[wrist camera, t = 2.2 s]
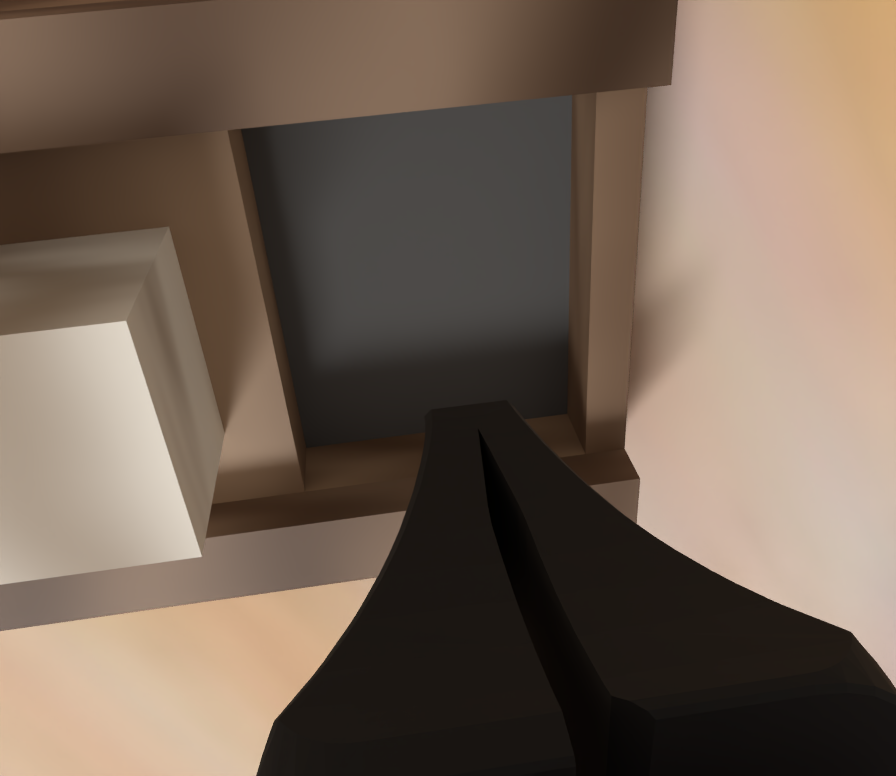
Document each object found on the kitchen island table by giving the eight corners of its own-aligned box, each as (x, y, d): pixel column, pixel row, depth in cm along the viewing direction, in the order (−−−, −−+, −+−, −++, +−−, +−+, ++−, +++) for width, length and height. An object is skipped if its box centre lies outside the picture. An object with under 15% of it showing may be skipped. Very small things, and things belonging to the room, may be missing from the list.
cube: (0, 462, 18) (-75, 595, 15) (-98, 255, 15) (-215, 361, 12) (224, 433, 18) (202, 556, 15) (168, 226, 16) (126, 320, 12)
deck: (-369, 593, 21) (-471, 698, 18) (-828, 74, 14) (-1101, 119, 11) (599, 463, 23) (635, 540, 20) (620, -56, 16) (681, -43, 13)
